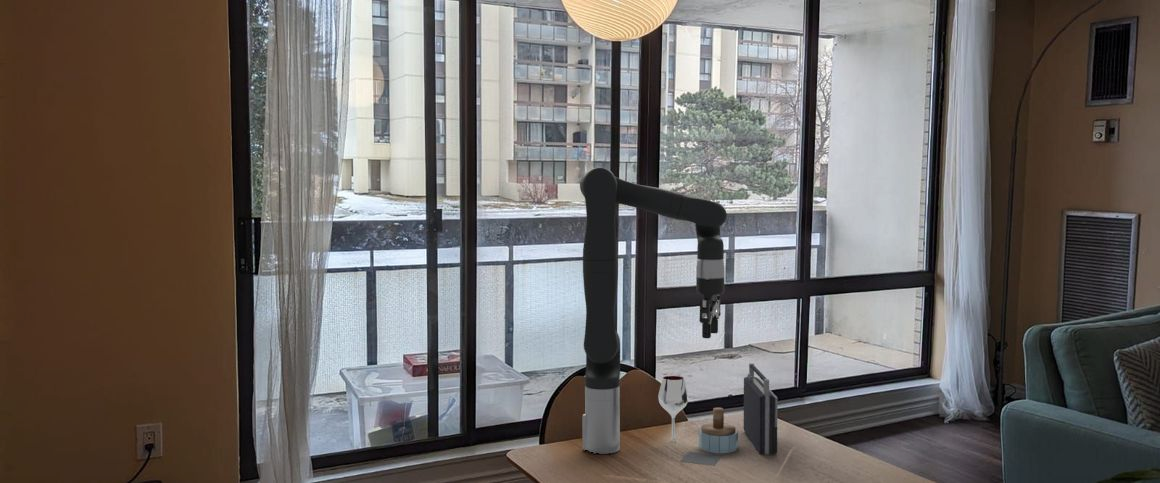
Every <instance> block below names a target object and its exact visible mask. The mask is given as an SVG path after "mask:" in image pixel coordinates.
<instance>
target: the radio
mask: <svg viewBox="0 0 1160 483" xmlns="http://www.w3.org/2000/svg"><path fill="white" fill-rule="evenodd" d="M755 374H756V375H757V376H758V377H759V378H758V377H756V376H755ZM743 430H744V432H745V434H746V436H747V437H748V439H749V440H750V442H751V444H752V445H753V447H754V448H755V450H756V451H757V453H758V454H759V455H775V454H777V453H778V396H777V395H776V394H774V392H773V391H772V390H771V389H770V379H769V378H767V377H766V376H765V375H764V374H763V373H762V372H761V371H760V370H759V368H757V367H756V365H755V363H752V362H751V363H749V364H748V373H747V376H745V377H743Z"/></svg>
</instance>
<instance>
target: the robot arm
mask: <svg viewBox="0 0 1160 483" xmlns="http://www.w3.org/2000/svg"><path fill="white" fill-rule="evenodd" d="M579 189H580V193H581V195H582V196H583V198H584V201H585V213H586V226H585V234H584V240H583V245H582V246H583V247H582V248H583V249H582V276H583V277H582V278H583V291H584V299H585V301H584V302H585V311H586V312H585V326H584V337H583V339H584V340H583V351H584V353H585V355H586V356H585V357H586V358H585V362H586V363H585V376H584V403H585V404H584V410H585V411H584V414H582V420H581V421H582V423H581V424H582V450H583V449H585V450H588V451H590V452H589V453H591V452H593V453H592V454H596V453H599V454H598V455H606V454H607V455H608V454H609V453H610V454H615V453H617V452H619V451H620V446H621V445H620V443H621V442H620V441H621V439H620V431H621V430H620V428H621V426H620V425H621V424H620V422H621V421H620V418H621V417H620V415H621V414H620V409H621V408H620V399H621V398H620V377H621V338H620V336H619V334H618V332H617V331H616V323H615V303H616V302H615V301H616V294H617V288H618V275H619V274H618V271H619V266H618V245H617V235H616V234H617V233H616V222H615V218H616V216H615V215H616V204H617V205H623V206H627V207H632V208H635V209H639V210H642V211H646V212H648V213H652V214H655V215H658V216H662V217H666V218H668V219H669V218H670V219H672V220H673V219H674V220H679V221H685V222H686V221H687V222H690V223H694V226H695V233H696V238H697V239H696V240H697V245H696V246H697V248H696V249H697V250H696V252H697V256H696V258H697V260H696V268H695V269H696V270H695V271H696V273H695V274H696V278H695V280H696V281H695V282H696V284H695V286H696V293H697V294H699V295H703V298H702V299H700V300H699V323H701V327H702V328H701V330H702V331H701V333H702V334H701V337H702V338H703V339H710V338H711V337H712V334H718V333H719V319H720V317H721V314H722V313H721V295H723V294H724V293H725V276H726V275H725V272H726V271H725V269H726V268H725V263H724V262H725V260H724V258H725V257H724V256H725V254H724V253H725V250H724V249H725V248H724V246H725V245H724V241H723V238H722V237H721V226H723V224H725V223H726V219H727V211H726V208H725V207H724V206H723V205H722V203H719V202H716V201H712V200H709V199H704V198H699V197H693V196H689V195H686V194H684V193H680V192H677V191H672V190H670V189H666V188H661V187H654V186H648V185H642V184H639V183H638V184H637V183H634V182H630V181H627V180H624V179H621V178H620V177H617V176H615V174H614V173H613V172H612V171H611V170H610V169H608V168H605V167H602V166H601V167H595V168H591V169H589V170H587V171H586V172H585V173H584V174H583V175H582V177H581V178H580V181H579ZM585 450H584V451H585ZM588 451H587V452H588Z"/></svg>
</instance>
